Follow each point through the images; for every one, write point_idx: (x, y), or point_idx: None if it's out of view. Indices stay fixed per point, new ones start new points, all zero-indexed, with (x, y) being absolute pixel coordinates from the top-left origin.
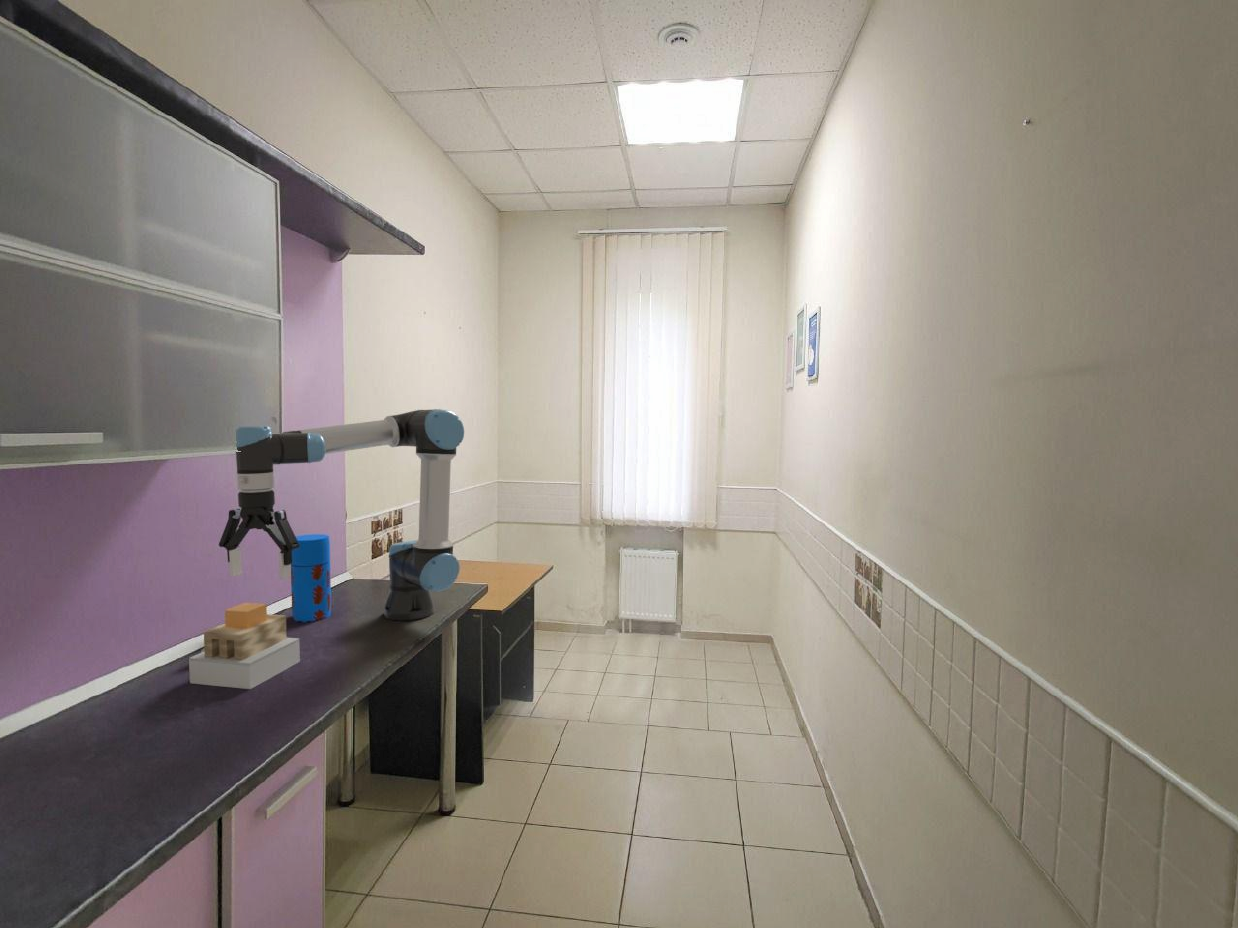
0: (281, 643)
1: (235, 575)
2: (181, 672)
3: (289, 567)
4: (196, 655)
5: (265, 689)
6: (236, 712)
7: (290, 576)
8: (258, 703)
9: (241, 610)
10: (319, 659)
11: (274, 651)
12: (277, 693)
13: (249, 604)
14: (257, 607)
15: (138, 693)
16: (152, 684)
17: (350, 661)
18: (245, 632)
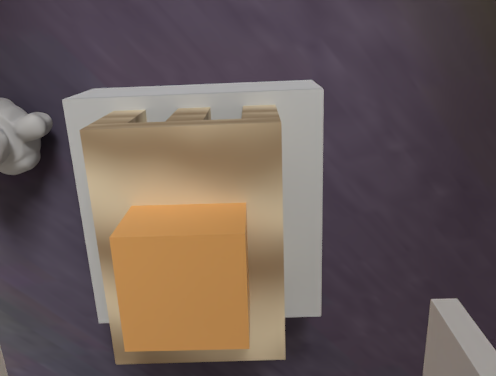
0: (293, 152)
1: (3, 370)
2: (25, 232)
3: (493, 358)
4: (100, 303)
5: (351, 267)
6: (372, 371)
7: (458, 301)
8: (391, 329)
9: (206, 338)
10: (365, 45)
11: (321, 217)
12: (400, 278)
13: (158, 255)
14: (242, 285)
15: (57, 348)
16: (33, 306)
17: (486, 34)
18: (280, 338)
